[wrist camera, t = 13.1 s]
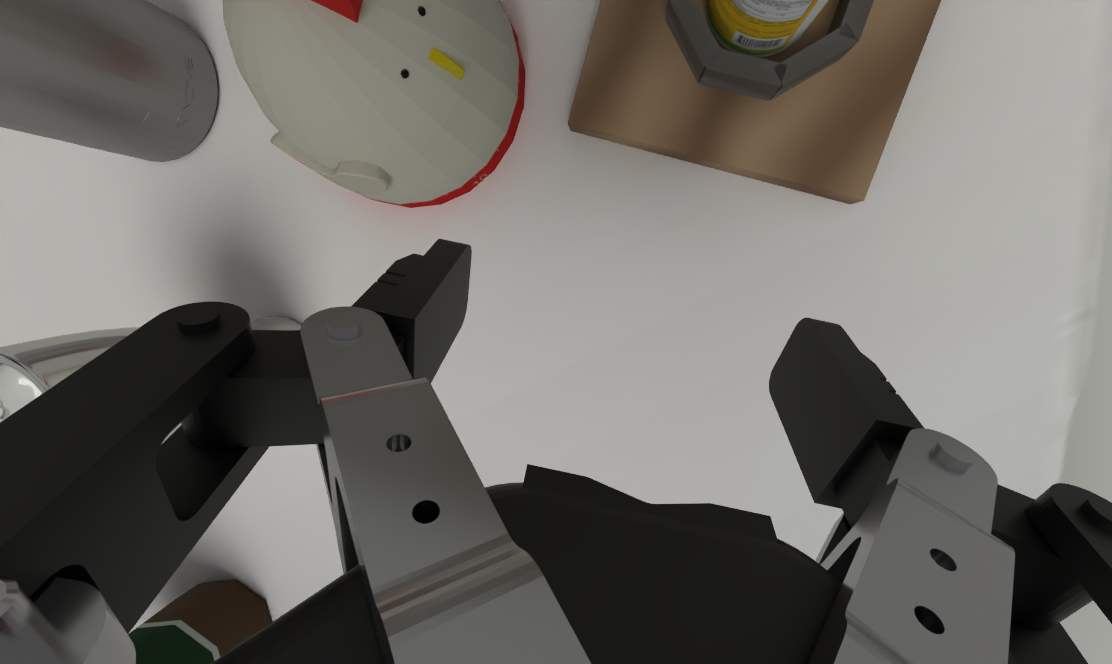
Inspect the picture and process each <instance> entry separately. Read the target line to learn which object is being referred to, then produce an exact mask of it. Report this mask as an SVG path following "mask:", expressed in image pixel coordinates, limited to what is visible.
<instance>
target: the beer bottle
mask: <svg viewBox="0 0 1112 664" xmlns="http://www.w3.org/2000/svg"><path fill="white" fill-rule="evenodd" d="M270 623H272V622H271V619H270V615H269V612H268V608H267V605H266V601H264V600H263V599H262V598H260V597H259V596H258V595H256V594H255V593H254V592H252V591H251V590H249V589H248V588H247V587H245V586H244V585H243V584H241V583H240V582H239V581H237V580H227V581H218V582H209V583H202V584H198V585H196V586H195V587H193V588H192V589H190V590H189V591H187V592H186V593H184V594H183V595H181V596H180V597H178V598H177V599H175V600H174V601H173V602H171V603H170V604H169V605H167V606H166V607H165V608H163V609H162V610H160V611H159V612H158V613H156V614H155V615H154V616H152V617H151V618H150V619H148V620H147V621H146V622H144V623H143V624H141V625H140V626H139V627H137V628H136V629H135V630H133V631H132V632H131V633H129V634H128V635H129V637H130V638H131V640H132V642H133V644H134V647H135V651H136V664H211V663H212V662H214V661H215V660H217V659H218V658H220V657H221V656H223V655H224V654H226V653H227V652H229V651H230V650H232V649H233V648H235V647H236V646H238V645H239V644H241V643H242V642H244V641H245V640H247V639H248V638H250V637H251V636H253V635H254V634H256V633H257V632H259V631H260V630H262V629H263V628H265V627H266V626H268V625H269V624H270Z"/></svg>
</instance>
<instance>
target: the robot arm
mask: <svg viewBox="0 0 1112 664" xmlns="http://www.w3.org/2000/svg"><path fill="white" fill-rule="evenodd" d="M217 93H218V87H217V79H216V72H215V69H214V66H213V62H212V59H211V56H210V54H209V52H208V51H207V49H206V47H205V45H204V43H203V42H202V40H201V39H200V38H199V36H198V35H197V34H196V33H195V31H194V30H193V29H191V28H190V27H189V26H188V25H187V24H186V23H184V22H183V21H182V20H180V19H178V18H177V17H175V16H173V15H171V14H169V13H168V12H166V11H164V10H162V9H160V8H159V7H157V6H155V5H153V4H152V3H150V2H148V1H146V0H0V127H3V128H7V129H12V130H16V131H21V132H25V133H30V134H34V135H38V136H43V137H47V138H52V139H56V140H61V141H65V142H70V143H74V144H78V145H82V146H86V147H91V148H95V149H99V150H104V151H108V152H113V153H117V154H122V155H126V156H131V157H135V158H140V159H144V160H149V161H160V162H165V161H170V160H175V159H178V158H180V157H182V156H184V155H186V154H188V153H189V152H190V151H192V150H193V149H194V148H195V147H196V146H198V145H199V143H200V142H201V141H202V139H203V138H204V137H205V135H206V134H207V132H208V130H209V128H210V126H211V124H212V122H213V119H214V115H215V110H216V106H217ZM470 267H471V246H470V245H467V244H462V243H457V242H453V241H448V240H443V239H438V240H437V241H436V242H435V243H434V245H433V246H432V247H431V248H430V249H429V250H428V251H427V253H426V254H425V255H424V256H422V255H417V254H412V255H409V256H407V257H404V258H402V259H399V260H397V261H395V262H394V264H393V265H392V266H391V267H390V268H389V269H388V270H387V271H386V274H385V273H384V274H383V275H382V276H381V277H380V278H379V279H378V281H377V282H375V283H374V284H373V285H372V286H371V287H370V288H369V289H368V290H367V291H366V292H365V293H364V294H363V295H362V296H361V297H360V298H359V299H358V300H357V301H356V302H355V303H354V304H353V305H352V306H351V307H335V308H329V309H325V310H322V311H319V312H317V313H315V314H313V315H311V316H310V317H308V318H307V319H306V320H305V321H304V322H303V323H302V325H301V328H300V330H252V328H251V323H250V318H249V315H248V313H247V312H246V311H245V310H244V309H242V308H241V307H239V306H236V305H233V304H229V303H223V302H198V303H191V304H186V305H182V306H178V307H175V308H172V309H170V310H167V311H165V312H163V313H161V314H160V315H158V316H156V317H155V318H153V319H152V320H150V321H149V322H147V323H146V324H144V325H143V326H141V327H140V328H139V329H137V330H136V331H134V332H133V333H131V334H130V335H128V336H127V337H125V338H124V339H122V340H121V341H119V342H118V343H116V344H115V345H113V346H112V347H111V348H109V349H108V350H106V351H105V352H103V353H102V354H100V355H99V356H97V357H96V358H94V359H93V360H91V361H90V362H88V363H87V364H85V365H84V366H83V367H81V368H80V369H78V370H77V371H75V372H74V373H72V374H71V375H69V376H68V377H66V378H65V379H63V380H62V381H60V382H59V383H57V384H56V385H55V386H53V387H52V388H50V389H49V390H47V391H46V392H44V393H43V394H41V395H40V396H38V397H37V398H35V399H34V400H32V401H31V402H29V403H28V404H27V405H25V406H24V407H22V408H21V409H19V410H18V411H16V412H15V413H13V414H12V415H10V416H9V417H7V418H6V419H4V420H3V421H1V422H0V664H136V651H135V647H134V644H133V642H132V640H131V638H130V637H129V635H128V633H129V632H130V631H131V629H132V628H133V627H134V625H135V624H136V623H137V621H138V620H139V619H140V617H141V616H142V615H143V613H144V612H145V611H146V609H147V608H148V607H149V605H150V604H151V603H152V601H153V600H154V599H155V597H156V596H157V595H158V593H159V592H160V591H161V589H162V588H163V587H164V585H165V584H166V583H167V581H168V580H169V579H170V577H171V576H172V575H173V573H174V572H175V571H176V569H177V568H178V567H179V566H180V564H181V563H182V562H183V560H184V559H185V558H186V556H187V555H188V554H189V552H190V551H191V550H192V548H193V547H194V546H195V544H196V543H197V542H198V540H199V539H200V538H201V536H202V535H203V534H204V532H205V531H206V530H207V528H208V527H209V526H210V524H211V523H212V522H213V520H214V519H215V518H216V516H217V515H218V514H219V512H220V511H221V510H222V508H223V507H224V506H225V504H226V503H227V502H228V500H229V499H230V498H231V497H232V495H233V494H234V493H235V491H236V490H237V489H238V487H239V486H240V485H241V483H242V482H243V481H244V479H245V478H246V477H247V475H248V474H249V473H250V471H251V470H252V469H253V467H254V466H255V465H256V463H257V462H258V461H259V459H260V458H261V457H262V455H263V454H264V453H265V451H266V450H267V449H268V447H269V446H284V445H305V444H316V446H317V450H318V455H319V459H320V464H321V468H322V472H323V477H324V481H325V485H326V490H327V494H328V498H329V503H330V507H331V511H332V516H333V520H334V525H335V530H336V536H337V542H338V547H339V553H340V558H341V563H342V568H343V572H344V574H343V575H342V576H340V577H339V578H338V579H336V580H335V581H333V582H332V583H330V584H329V585H327V586H326V587H324V588H323V589H321V590H320V591H318V592H317V593H315V594H314V595H312V596H311V597H309V598H308V599H306V600H305V601H303V602H302V603H300V604H299V605H297V606H296V607H294V608H293V609H291V610H290V611H288V612H287V613H285V614H284V615H282V616H281V617H279V618H278V619H276V620H275V621H273V622H272V623H270V624H269V625H268V626H266V627H265V628H263V629H262V630H260V631H259V632H257V633H256V634H254V635H253V636H251V637H250V638H248V639H247V640H245V641H244V642H242V643H241V644H239V645H238V646H236V647H235V648H233V649H232V650H230V651H229V652H227V653H226V654H224V655H223V656H221V657H220V658H218V659H217V660H215V661H214V662H212V663H211V664H1088V663H1087V661H1086V660H1085V659H1084V657H1083V656H1082V654H1081V653H1080V651H1079V650H1078V648H1077V647H1076V646H1075V644H1074V643H1073V641H1072V640H1071V638H1070V637H1069V635H1068V634H1067V632H1066V631H1065V630H1064V628H1063V627H1062V625H1061V624H1060V621H1062V620H1064V619H1065V618H1067V617H1068V616H1070V615H1071V614H1073V613H1074V612H1076V611H1077V610H1079V609H1080V608H1082V607H1083V606H1085V605H1087V604H1088V603H1090V602H1091V601H1093V600H1094V602H1095V603H1096V604H1097V606H1098V607H1099V608H1100V609H1101V611H1102V612H1103V613H1104V614H1105V616H1106V617H1107V618H1108V620H1109V621H1110V622H1111V624H1112V503H1111V502H1109V501H1107V500H1106V499H1104V498H1102V497H1100V496H1098V495H1096V494H1094V493H1092V492H1090V491H1087V490H1085V489H1082V488H1080V487H1076V486H1073V485H1069V484H1062V483H1058V484H1054V485H1052V486H1051V487H1050V488H1049V489H1047V490H1046V491H1045V492H1044V493H1043V494H1042V495H1041V496H1039V497H1038V498H1037V499H1036V500H1035V499H1032V498H1030V497H1027V496H1025V495H1022V494H1020V493H1017V492H1015V491H1013V490H1010V489H1008V488H1005V487H1003V486H1000V485H998V484H997V483H998V481H997V476H996V474H995V472H994V471H993V469H992V468H991V466H990V465H989V464H988V463H987V462H986V461H985V460H984V459H983V458H982V457H981V456H980V455H979V454H977V453H976V452H975V451H973V450H972V449H971V448H969V447H968V446H966V445H965V444H963V443H961V442H960V441H958V440H956V439H954V438H952V437H950V436H948V435H945V434H943V433H940V432H937V431H934V430H930V429H924V427H923V426H922V425H921V423H920V422H919V421H918V419H917V418H916V417H915V415H914V414H913V413H912V412H911V410H910V409H909V408H908V406H907V405H906V404H905V402H904V401H903V400H902V398H901V397H900V396H899V395H898V394H896V391H895V389H894V388H893V387H892V385H891V384H890V383H889V382H887V381H886V377H885V376H884V375H883V373H882V372H881V371H880V369H879V368H878V367H877V366H876V364H875V363H874V362H872V361H871V360H870V359H869V358H867V357H866V356H865V355H864V354H862V353H861V352H860V351H859V350H858V348H857V347H856V346H855V344H854V343H853V341H852V340H851V339H850V337H849V336H848V335H847V333H846V332H845V331H844V329H843V328H842V327H841V326H840V325H838V324H834V323H829V322H825V321H820V320H815V319H811V318H804V319H802V320H801V321H800V322H799V323H798V324H797V325H796V327H795V329H794V331H793V332H792V334H791V336H790V338H789V340H788V342H787V344H786V345H785V347H784V349H783V351H782V353H781V355H780V357H779V358H778V360H777V362H776V364H775V366H774V368H773V370H772V372H771V376H770V380H769V391H770V395H771V397H772V400H773V402H774V405H775V407H776V410H777V412H778V415H779V417H780V420H781V422H782V424H783V427H784V429H785V432H786V434H787V437H788V439H789V442H790V444H791V446H792V449H793V451H794V454H795V456H796V459H797V461H798V464H799V466H800V468H801V471H802V473H803V476H804V478H805V481H806V483H807V486H808V488H809V491H810V493H811V495H812V498H813V500H814V503H818V504H823V505H827V506H832V507H837V508H841V509H842V510H843V512H844V513H843V514H842V515H841V516H840V518H839V519H838V520H837V521H836V523H835V524H834V526H833V528H832V529H831V531H830V533H829V535H828V537H827V539H826V541H825V543H824V545H823V547H822V549H821V551H820V552H819V554H818V556H817V558H816V560H813V559H812V558H810V557H809V556H807V555H806V554H804V553H803V552H801V551H800V550H798V549H796V548H795V547H793V546H791V545H789V544H787V543H785V542H783V541H781V540H779V539H777V537H776V534H775V530H774V527H773V524H772V521H771V517H770V516H767V515H762V514H757V513H753V512H748V511H743V510H739V509H734V508H729V507H725V506H720V505H715V504H711V503H707V504H650V503H646V502H643V501H641V500H639V499H636V498H634V497H632V496H629V495H627V494H625V493H623V492H620V491H618V490H616V489H613V488H611V487H609V486H607V485H604V484H602V483H600V482H597V481H595V480H593V479H591V478H588V477H585V476H580V475H575V474H571V473H566V472H562V471H557V470H552V469H548V468H543V467H538V466H534V465H529V464H527V469H526V474H525V478H524V483H507V484H499V485H494V486H490V487H486V488H485V487H484V486H483V484H482V482H481V480H480V478H479V476H478V474H477V472H476V470H475V468H474V466H473V464H472V462H471V461H470V459H469V457H468V455H467V453H466V451H465V449H464V447H463V445H462V443H461V441H460V439H459V437H458V436H457V434H456V432H455V430H454V428H453V426H452V424H451V422H450V420H449V418H448V416H447V414H446V412H445V411H444V409H443V407H442V405H441V403H440V401H439V399H438V397H437V395H436V393H435V391H434V389H433V387H432V386H431V382H432V380H433V378H434V376H435V374H436V373H437V371H438V369H439V367H440V365H441V363H442V361H443V360H444V358H445V356H446V354H447V352H448V350H449V349H450V347H451V345H452V343H453V341H454V339H455V338H456V336H457V334H458V332H459V330H460V328H461V326H462V324H463V321H464V318H465V314H466V309H467V302H468V290H469V279H470ZM180 423H181V426H180V427H179V428H178V429H177V430H176V431H175V432H174V433H173V434H172V435H171V436H170V437H169V438H168V439H167V440H166V441H165V442H164V443H163V444H162V442H163V441H164V439H165V438H166V437H167V436H168V435H169V433H170V432H171V431H172V430H174V429H175V428H176V427H177V426H178V425H179V424H180ZM161 444H162V445H161Z"/></svg>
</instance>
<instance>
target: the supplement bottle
mask: <svg viewBox="0 0 1112 664" xmlns="http://www.w3.org/2000/svg"><path fill="white" fill-rule="evenodd" d="M828 1H829V0H707V1H706V12H707V18H708V22H709V25H710V28H711V31H712V33H713V34H714V36H715V38H716V39H717V40H718V41H719V43H720V44H721V45H722V46H724V47H725V48H726V49H728V50H729V51H732V52H736V53H740V54H745V55H749V56H753V57H757V58H760V57H766V56H771V55H773V54H776V53H779V52H781V51H783V50H784V49H786V48H788V47H789V46H791V45H792V44H793V43H795V42H796V41H797V40H798V39H799V38H800V37H801V36H802V35H803V34H804V32H805V31H806V30H807V29H808V28H809V26H810V25H811V24H812V22H813V21H814V20H815V19H816V17H817V16H818V15H819V13H820V12H821V11H822V9H823V8H824V7H825V5H826V4H827V3H828Z"/></svg>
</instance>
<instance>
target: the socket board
mask: <svg viewBox="0 0 1112 664" xmlns="http://www.w3.org/2000/svg"><path fill="white" fill-rule="evenodd" d="M706 1H707V0H601V3H600V7H599V10H598V14H597V18H596V21H595V25H594V29H593V32H592V36H591V40H590V43H589V47H588V51H587V54H586V58H585V62H584V65H583V69H582V73H581V76H580V80H579V84H578V87H577V91H576V95H575V98H574V102H573V106H572V109H571V113H570V117H569V120H568V125H569V127H570V130H571V131H574V132H578V133H582V134H586V135H589V136H593V137H597V138H601V139H605V140H608V141H612V142H616V143H620V144H624V145H627V146H631V147H635V148H639V149H643V150H646V151H650V152H654V153H658V154H662V155H665V156H669V157H673V158H677V159H680V160H684V161H688V162H692V163H696V164H699V165H703V166H707V167H711V168H715V169H718V170H722V171H726V172H730V173H734V174H737V175H741V176H745V177H749V178H753V179H756V180H760V181H764V182H768V183H772V184H775V185H779V186H783V187H787V188H791V189H794V190H798V191H802V192H806V193H810V194H813V195H817V196H821V197H825V198H829V199H832V200H836V201H840V202H844V203H848V204H853V203H857V202H860V201H864V199H865V196H866V194H867V191H868V188H869V186H870V183H871V181H872V178H873V175H874V173H875V170H876V168H877V165H878V163H879V160H880V157H881V155H882V152H883V150H884V147H885V144H886V142H887V139H888V137H889V134H890V131H891V129H892V126H893V124H894V121H895V118H896V116H897V113H898V111H899V108H900V105H901V103H902V100H903V98H904V95H905V93H906V90H907V87H908V85H909V82H910V80H911V77H912V74H913V72H914V69H915V67H916V64H917V61H918V59H919V56H920V54H921V51H922V48H923V46H924V43H925V41H926V38H927V35H928V33H929V30H930V28H931V25H932V22H933V20H934V17H935V15H936V12H937V10H938V7H939V4H940V2H941V0H829V1H828V3H827V4H826V5H825V7H824V8H823V9H822V11H821V12H820V13H819V15H818V16H817V17H816V19H815V20H814V21H813V22H812V24H811V25H810V26H809V28H808V29H807V30H806V31H805V32H804V34H803V35H802V36H801V37H800V38H799V39H798V40H797V41H796V42H795V43H793V44H792V45H791V46H789V47H788V48H786V49H784V50H783V51H781V52H779V53H776V54H773V55H771V56H766V57H760V58H757V57H753V56H749V55H745V54H740V53H736V52H732V51H729V50H728V49H726V48H725V47H724V46H722V45H721V44H720V43H719V41H718V40H717V39H716V38H715V36H714V34H713V33H712V31H711V28H710V25H709V22H708V18H707V12H706Z"/></svg>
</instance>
